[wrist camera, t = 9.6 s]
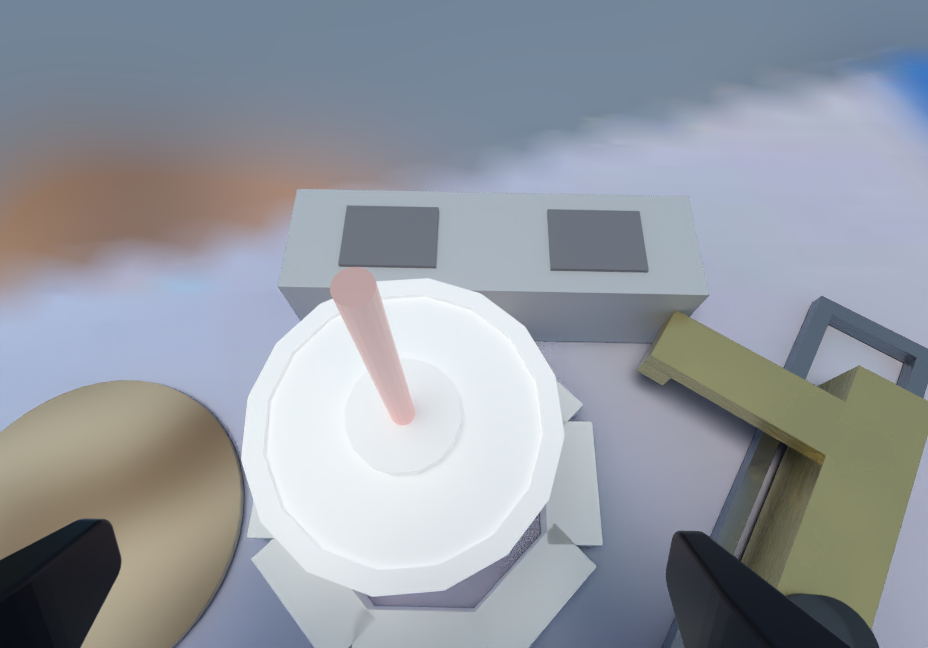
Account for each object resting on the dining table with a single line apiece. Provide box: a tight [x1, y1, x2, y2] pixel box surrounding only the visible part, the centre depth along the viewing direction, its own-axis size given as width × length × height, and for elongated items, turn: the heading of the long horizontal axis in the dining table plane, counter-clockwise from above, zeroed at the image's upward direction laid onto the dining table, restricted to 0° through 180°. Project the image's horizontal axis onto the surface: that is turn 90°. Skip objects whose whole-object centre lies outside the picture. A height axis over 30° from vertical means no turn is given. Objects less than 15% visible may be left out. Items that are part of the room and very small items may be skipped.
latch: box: [637, 310, 928, 648], centre depth 16 cm, size 8×10×3 cm
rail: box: [662, 296, 928, 648], centre depth 16 cm, size 4×23×1 cm, turn 146°
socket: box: [247, 189, 709, 648], centre depth 17 cm, size 15×14×4 cm
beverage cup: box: [241, 267, 565, 597], centre depth 11 cm, size 6×6×14 cm
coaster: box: [0, 380, 244, 648], centre depth 17 cm, size 10×10×1 cm
